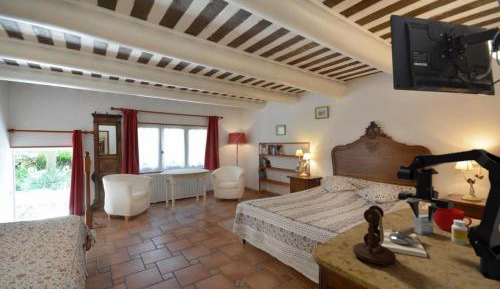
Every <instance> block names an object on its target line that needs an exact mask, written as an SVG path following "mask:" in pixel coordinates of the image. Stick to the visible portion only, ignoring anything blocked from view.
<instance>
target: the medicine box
mask: <svg viewBox="0 0 500 289" xmlns="http://www.w3.org/2000/svg"><path fill="white" fill-rule="evenodd" d="M412 222H413V223H412V224H413V225H412V226H413V227H415V234H419V235H421V236H423V235H429V234H430V235H431V234H434V220H433V218H432V220H431V221H429V219H428V214H426V213H422V214H420V213H419V218H416V216H415V214H413V215H412Z"/></svg>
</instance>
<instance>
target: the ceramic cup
mask: <svg viewBox="0 0 500 289" xmlns="http://www.w3.org/2000/svg"><path fill="white" fill-rule="evenodd" d="M464 219H467V220H468V224H466V225H465V227H467V228H468V227H471V225H472V223H473V221H472V218H470V217H468V216H465V211H463V210H461V209H458V208H455V207H452V208H449V209H444V208H438V209H437V210H436V212H435V214H434V216H433V223H435V225H436V226H437V227H438V228H439V229H441V230H444V231H446V232H447V231H448V232H452V225H453V224H454V220H461V221H464Z"/></svg>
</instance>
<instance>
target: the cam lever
mask: <svg viewBox="0 0 500 289" xmlns="http://www.w3.org/2000/svg"><path fill="white" fill-rule="evenodd" d="M394 231H395V233H391V234H389V239H390V240H391V241H392V242H394V243H397V244H401V245H413V242H414V240H413V238H412V237H410V236H408V235H411V234H415V235H416V233H415V227H413V225H411V226H409V227H405V228H403V229H400V230H394Z"/></svg>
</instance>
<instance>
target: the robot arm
mask: <svg viewBox="0 0 500 289" xmlns="http://www.w3.org/2000/svg"><path fill="white" fill-rule="evenodd" d="M471 161H474V162H475V163H476V164H477V165H479V167H482V168H483V169H484V170H486V171H488V174H487V176H488V178H487V179H488V181H489V185H490V186H489V191H488V193H487V198H486V201H485V204H484V207H483V212H482V216H481V218H480V222H479V223H478V224H476V225H472V226H471V225H470V226H469V232H468V236H467V238H468V242H469V245H470V246H471V247H472V248H473V251H474V254H475V256H476V257H479V266H475V267H474V268H475V269H476V270H477V271H478V272H479V274H480V275H481V276H482V277H483V276H484V278H487V277H490V278H489V279H492V278H496V279H495V280H498V279H500V156H498V155H496V154H493V153H491V152H489V151H487V150H486V149H483V148H473V149H470V150H464V151H458V152H457V151H456V152H448V153H444V154H443V153H442V154H431V153H430V154H429V153H427V154H417V155H415V156H414V158H413V160H412V162H411V163H410V164H409V165H408V166H407V165H400V166H399V168H398V170H397V173H396V177H397V179H398V180H400V181H406V182H411V183H414V182H415V185H414V187H413V188H414V189H415V194H414V193H412V192H408V191H403V192H399V193H397V200H399V201H400V200H401V201H405V202H406V203H407V204H408V205H409V207H410V208H411V210H412V212H413V215H415V216H416V218H419V215H420V211H419V208H420V207H419V205H420V202H423V203H426V204H427V203H428V204H430V205H427V213H428V214H427V215H428V219H429V221H431V220H432V218H433V216H434V214H435V212H436V210H437V209H438V208H444V209H449V208H455V207H454V204H455V203H454V201H453V200H452V199H446V198H442V197H441V198H439V193H440V192H439V191H438V190H435V187H434V185H433V175H439V172H438V171H437V170H436V169H435V168H434V167H437V166H440V165H443V164H450V163H460V162H471ZM427 168H428V169H427Z"/></svg>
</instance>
